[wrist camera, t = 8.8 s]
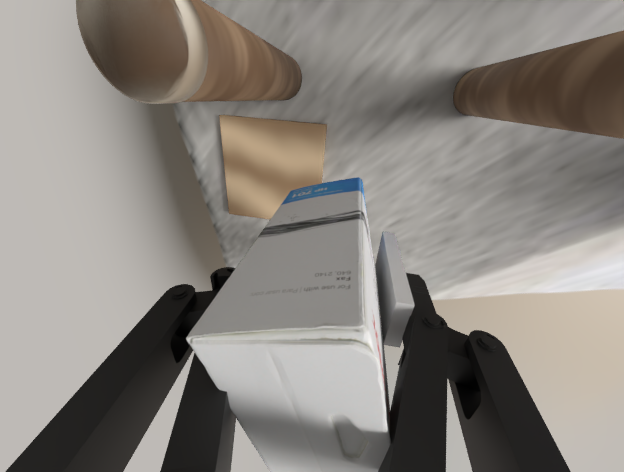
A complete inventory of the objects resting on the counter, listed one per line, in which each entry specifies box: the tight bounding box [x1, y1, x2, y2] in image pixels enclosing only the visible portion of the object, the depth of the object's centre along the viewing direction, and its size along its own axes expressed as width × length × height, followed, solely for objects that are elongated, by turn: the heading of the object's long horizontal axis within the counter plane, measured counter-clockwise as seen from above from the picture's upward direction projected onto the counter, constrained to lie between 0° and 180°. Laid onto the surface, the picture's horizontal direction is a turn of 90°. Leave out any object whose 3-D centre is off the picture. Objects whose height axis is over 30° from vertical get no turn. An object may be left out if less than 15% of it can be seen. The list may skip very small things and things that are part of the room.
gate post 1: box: [76, 0, 302, 104], centre depth 17 cm, size 4×4×20 cm
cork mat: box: [219, 115, 327, 219], centre depth 31 cm, size 12×12×1 cm
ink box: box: [186, 178, 391, 472], centre depth 13 cm, size 9×5×12 cm, turn 12°
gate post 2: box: [453, 31, 624, 139], centre depth 15 cm, size 4×4×20 cm
